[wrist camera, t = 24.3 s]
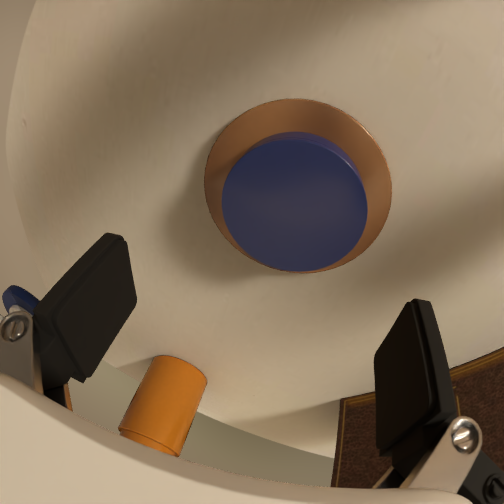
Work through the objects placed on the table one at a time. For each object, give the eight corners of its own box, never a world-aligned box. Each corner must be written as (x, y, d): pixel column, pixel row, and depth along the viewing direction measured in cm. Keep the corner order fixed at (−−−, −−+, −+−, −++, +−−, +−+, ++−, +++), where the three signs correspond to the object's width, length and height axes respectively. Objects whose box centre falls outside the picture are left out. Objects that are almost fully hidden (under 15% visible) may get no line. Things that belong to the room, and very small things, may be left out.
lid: (390, 207, 14) (396, 224, 13) (294, 273, 18) (290, 292, 17) (298, 102, 12) (294, 106, 11) (206, 191, 16) (194, 205, 15)
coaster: (205, 248, 19) (202, 253, 19) (213, 86, 13) (208, 87, 13) (359, 281, 18) (359, 288, 18) (411, 126, 12) (414, 129, 12)
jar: (161, 380, 33) (127, 454, 24) (145, 349, 29) (101, 432, 21) (211, 393, 31) (181, 474, 23) (201, 363, 28) (163, 458, 19)
